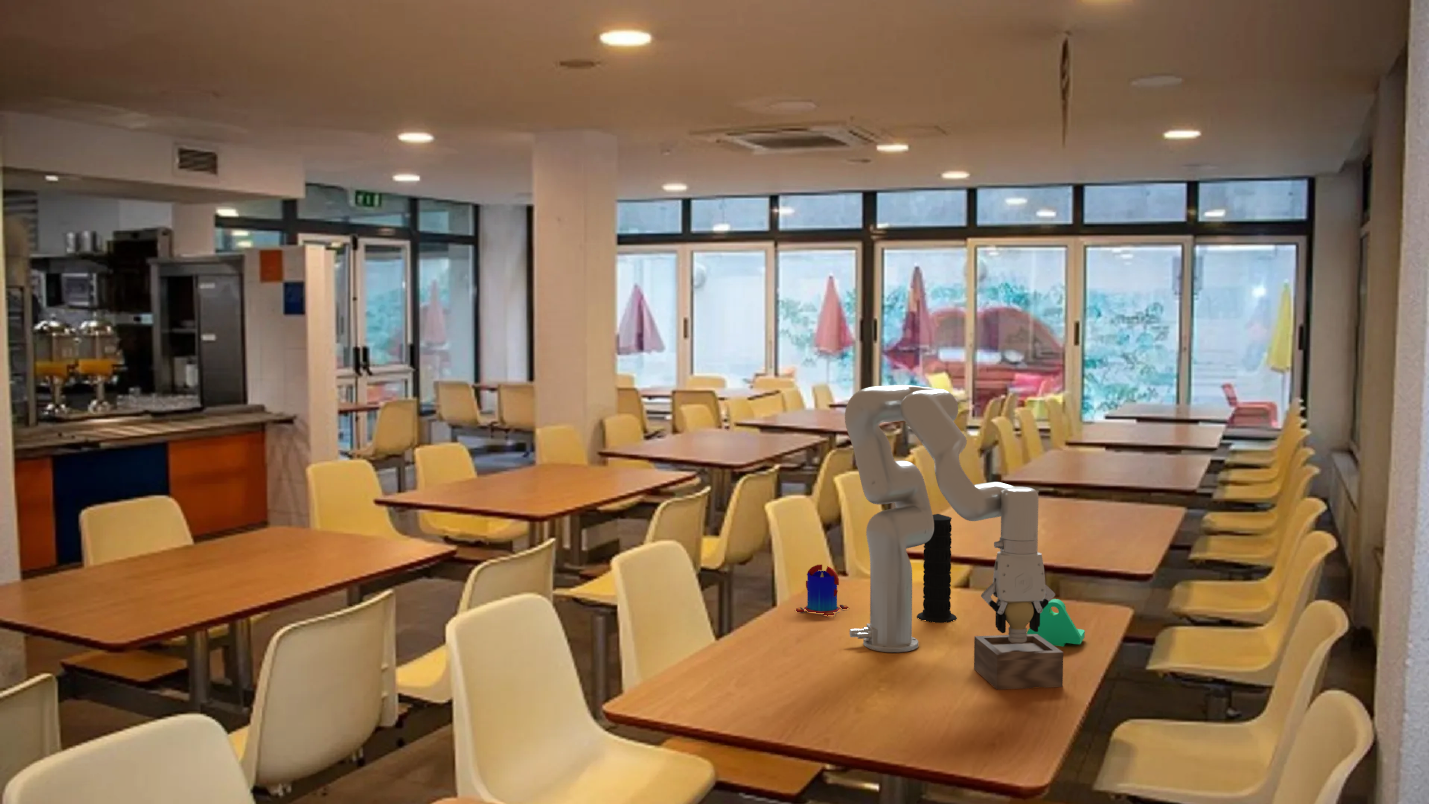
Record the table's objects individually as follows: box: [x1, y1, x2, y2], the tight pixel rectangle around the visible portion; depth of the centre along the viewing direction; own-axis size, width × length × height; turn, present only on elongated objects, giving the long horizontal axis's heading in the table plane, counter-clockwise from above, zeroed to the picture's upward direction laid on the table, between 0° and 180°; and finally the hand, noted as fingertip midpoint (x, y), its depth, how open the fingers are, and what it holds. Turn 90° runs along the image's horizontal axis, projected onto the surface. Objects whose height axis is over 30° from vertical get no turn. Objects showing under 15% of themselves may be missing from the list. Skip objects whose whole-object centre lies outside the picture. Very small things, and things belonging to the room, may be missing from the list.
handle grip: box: [916, 513, 958, 624], centre depth 299 cm, size 10×26×10 cm
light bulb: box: [1004, 602, 1034, 644], centre depth 250 cm, size 6×6×10 cm
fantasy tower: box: [795, 564, 849, 616], centre depth 308 cm, size 12×12×12 cm
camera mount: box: [1026, 598, 1086, 647], centre depth 278 cm, size 12×8×10 cm, turn 64°
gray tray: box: [973, 634, 1064, 690], centre depth 251 cm, size 14×14×7 cm
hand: (1017, 630), depth 250 cm, fingers closed on light bulb, 6 cm apart
